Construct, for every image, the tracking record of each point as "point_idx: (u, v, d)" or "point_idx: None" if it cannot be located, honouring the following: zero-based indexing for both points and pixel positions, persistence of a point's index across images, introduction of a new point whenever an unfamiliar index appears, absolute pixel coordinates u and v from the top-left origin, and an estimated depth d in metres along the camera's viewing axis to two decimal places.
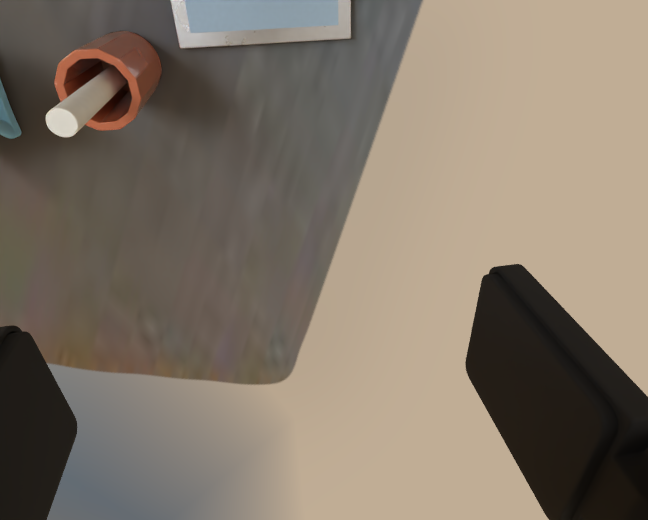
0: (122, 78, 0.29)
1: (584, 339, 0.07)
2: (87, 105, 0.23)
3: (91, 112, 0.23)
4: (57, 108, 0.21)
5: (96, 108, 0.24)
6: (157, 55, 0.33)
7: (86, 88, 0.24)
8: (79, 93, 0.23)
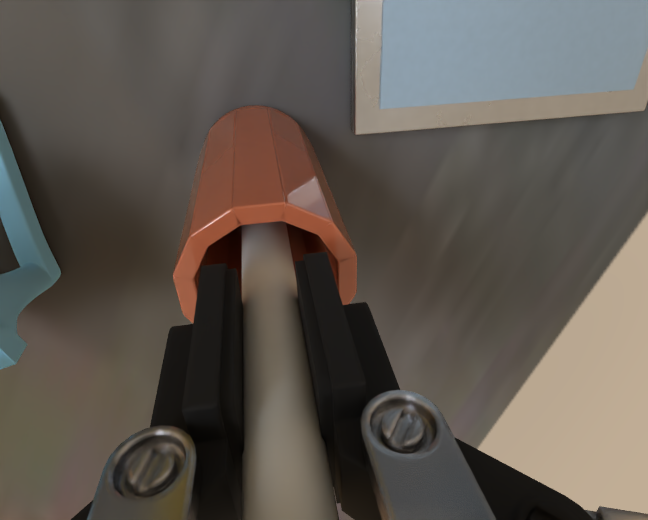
0: None
1: (339, 317, 0.08)
2: None
3: None
4: None
5: None
6: (311, 146, 0.18)
7: (281, 326, 0.09)
8: (285, 369, 0.08)
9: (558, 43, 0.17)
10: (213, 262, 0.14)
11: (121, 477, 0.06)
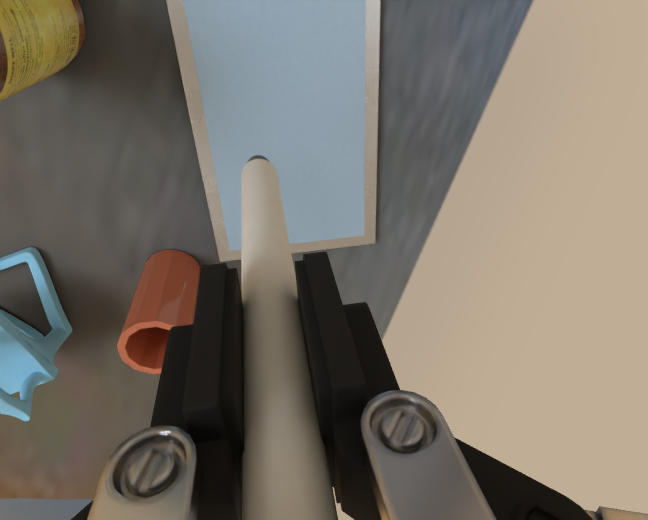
0: None
1: (339, 317, 0.08)
2: None
3: None
4: None
5: None
6: (198, 267, 0.36)
7: (280, 328, 0.09)
8: (284, 371, 0.08)
9: (316, 218, 0.35)
10: (139, 334, 0.32)
11: (121, 477, 0.06)
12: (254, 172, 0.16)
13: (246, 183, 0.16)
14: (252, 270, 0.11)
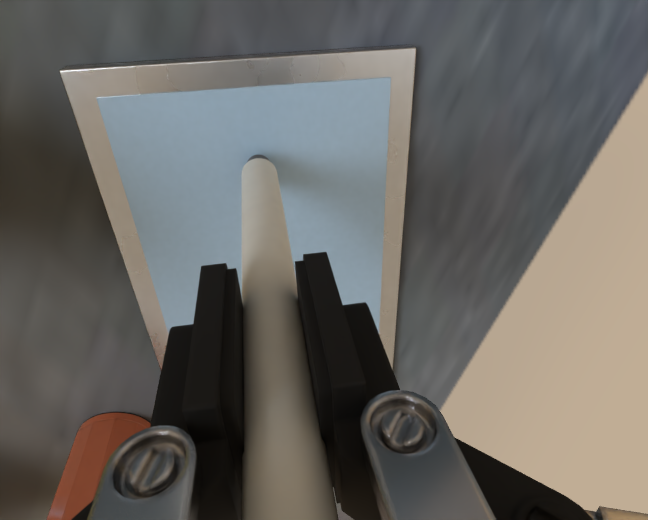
0: (285, 221, 0.14)
1: (338, 318, 0.08)
2: None
3: None
4: None
5: None
6: None
7: (281, 328, 0.09)
8: (285, 372, 0.08)
9: None
10: None
11: (121, 477, 0.06)
12: (254, 171, 0.16)
13: (246, 182, 0.16)
14: (252, 270, 0.11)
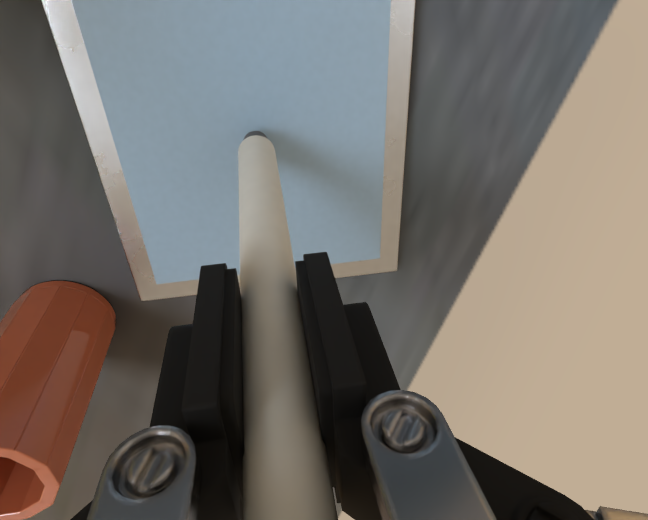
0: None
1: (339, 317, 0.08)
2: None
3: None
4: None
5: None
6: (108, 308, 0.22)
7: (280, 325, 0.09)
8: (285, 373, 0.08)
9: (300, 232, 0.21)
10: None
11: (121, 477, 0.06)
12: (251, 150, 0.16)
13: (243, 162, 0.15)
14: (251, 260, 0.11)
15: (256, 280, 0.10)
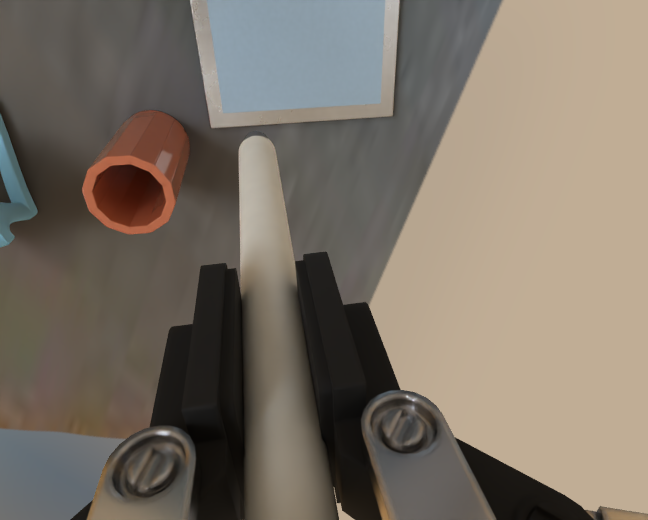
0: (284, 205, 0.14)
1: (339, 317, 0.08)
2: None
3: None
4: None
5: None
6: (186, 134, 0.31)
7: (281, 325, 0.09)
8: (286, 373, 0.08)
9: (325, 76, 0.30)
10: (112, 192, 0.26)
11: (121, 477, 0.06)
12: (252, 151, 0.16)
13: (244, 163, 0.15)
14: (251, 261, 0.11)
15: (257, 280, 0.10)
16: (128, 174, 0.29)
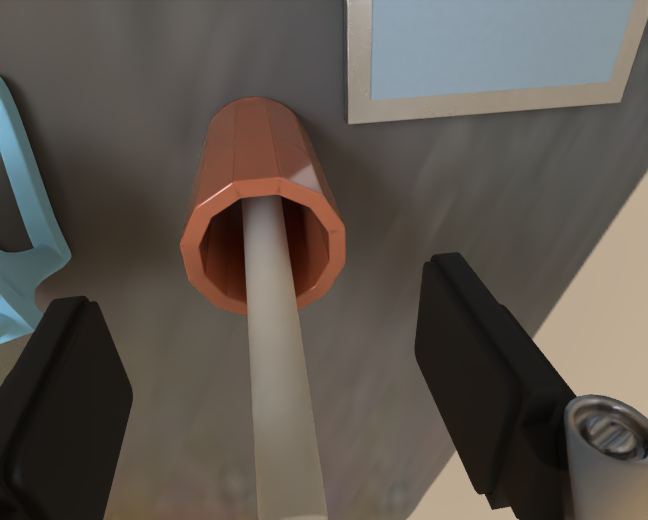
0: None
1: (503, 319, 0.08)
2: (312, 418, 0.10)
3: None
4: (293, 516, 0.08)
5: None
6: (307, 135, 0.20)
7: (281, 334, 0.11)
8: (285, 377, 0.10)
9: (537, 38, 0.19)
10: (215, 238, 0.15)
11: None
12: None
13: None
14: (255, 270, 0.13)
15: (260, 290, 0.12)
16: None
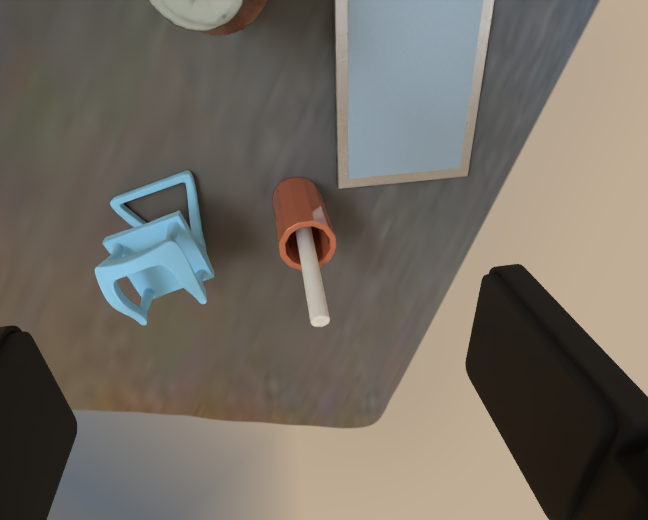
0: None
1: (584, 339, 0.07)
2: (324, 296, 0.33)
3: None
4: (320, 315, 0.32)
5: None
6: (319, 193, 0.43)
7: (314, 272, 0.34)
8: (316, 284, 0.34)
9: (422, 151, 0.42)
10: None
11: None
12: None
13: None
14: (303, 252, 0.36)
15: (306, 259, 0.35)
16: None
